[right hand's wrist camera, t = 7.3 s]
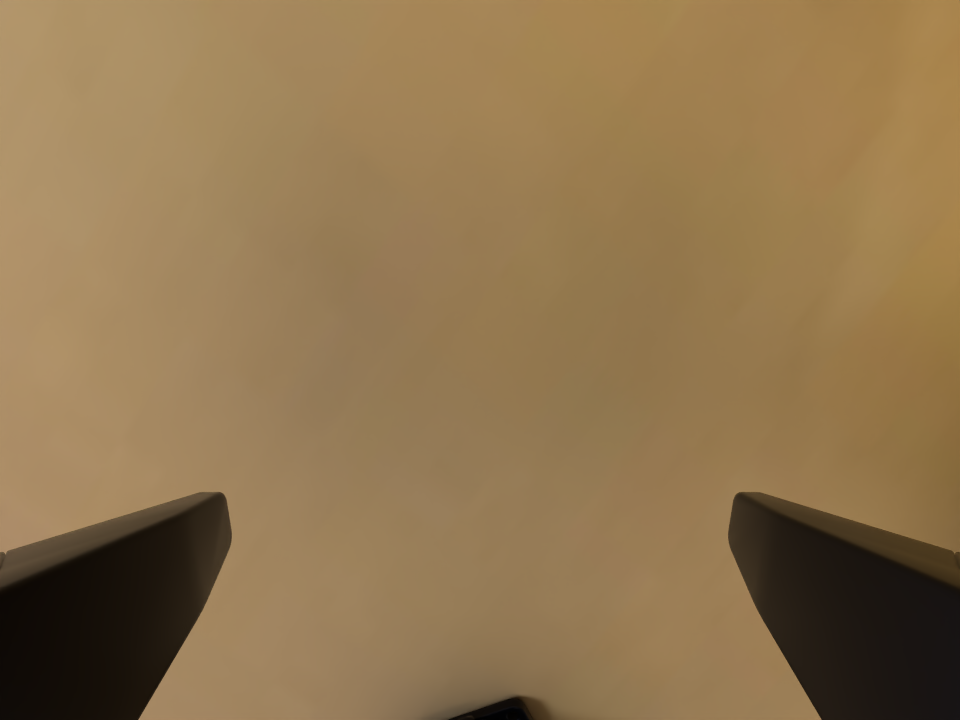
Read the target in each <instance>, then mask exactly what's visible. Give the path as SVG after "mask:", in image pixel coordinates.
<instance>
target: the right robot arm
mask: <svg viewBox="0 0 960 720" xmlns="http://www.w3.org/2000/svg"><path fill="white" fill-rule="evenodd" d="M231 539H232V531H231V525H230V518H229V512H228V506H227V500H226V497H225V495H224V494H223V493H221V492H200V493H196V494H193V495H190V496H187V497H183V498H180V499H177V500H173V501H170V502H167V503H164V504H160V505H157V506H154V507H150V508H147V509H144V510H141V511H137V512H134V513H131V514H127V515H124V516H121V517H118V518H114V519H111V520H108V521H104V522H101V523H98V524H95V525H91V526H88V527H85V528H82V529H78V530H75V531H72V532H68V533H65V534H62V535H59V536H55V537H52V538H49V539H45V540H42V541H39V542H36V543H32V544H29V545H26V546H22V547H19V548H16V549H13V550H9V551H7V553H6V555H5V553H4V552H0V720H138V719H139V718H140V716H141V714H142V712H143V711H144V709H145V707H146V706H147V704H148V702H149V701H150V699H151V697H152V696H153V694H154V692H155V690H156V689H157V687H158V685H159V684H160V682H161V680H162V679H163V677H164V675H165V673H166V672H167V670H168V668H169V667H170V665H171V663H172V662H173V660H174V658H175V657H176V655H177V653H178V651H179V650H180V648H181V646H182V645H183V643H184V641H185V640H186V638H187V636H188V634H189V633H190V631H191V629H192V628H193V626H194V624H195V623H196V621H197V619H198V617H199V615H200V614H201V612H202V610H203V608H204V606H205V604H206V602H207V599H208V597H209V595H210V593H211V590H212V588H213V586H214V583H215V581H216V579H217V576H218V574H219V572H220V569H221V567H222V565H223V562H224V560H225V558H226V555H227V553H228V551H229V548H230V545H231ZM728 539H729V545H730V548H731V551H732V553H733V555H734V558H735V560H736V562H737V565H738V567H739V569H740V572H741V574H742V576H743V579H744V581H745V583H746V586H747V588H748V590H749V593H750V595H751V597H752V600H753V602H754V604H755V606H756V608H757V610H758V612H759V614H760V615H761V617H762V619H763V621H764V623H765V624H766V626H767V628H768V629H769V631H770V633H771V634H772V636H773V638H774V640H775V641H776V643H777V645H778V646H779V648H780V650H781V651H782V653H783V655H784V657H785V658H786V660H787V662H788V663H789V665H790V667H791V668H792V670H793V672H794V673H795V675H796V677H797V679H798V680H799V682H800V684H801V685H802V687H803V689H804V690H805V692H806V694H807V696H808V697H809V699H810V701H811V702H812V704H813V706H814V707H815V709H816V711H817V712H818V714H819V716H820V718H821V719H822V720H960V552H956V553H955V555H954V552H953V551H951V550H947V549H944V548H941V547H938V546H934V545H931V544H928V543H924V542H921V541H918V540H915V539H911V538H908V537H905V536H901V535H898V534H895V533H892V532H888V531H885V530H882V529H878V528H875V527H872V526H869V525H865V524H862V523H859V522H856V521H852V520H849V519H846V518H842V517H839V516H836V515H833V514H829V513H826V512H823V511H819V510H816V509H813V508H810V507H806V506H803V505H800V504H796V503H793V502H790V501H787V500H783V499H780V498H777V497H773V496H770V495H767V494H764V493H760V492H739V493H737V494H736V495H735V497H734V500H733V506H732V512H731V518H730V525H729V531H728ZM512 712H513V713H512ZM449 720H533V718H532V717H531V715H530V713H529V711H528V710H527V708H526V706H525V704H524V703H523V702H522V701H520V700H518V699H508V700H505V701H502V702H499V703H496V704H493V705H490V706H487V707H484V708H481V709H478V710H475V711H472V712H469V713H467V714H464V715H461V716H458V717H455V718H452V719H449Z"/></svg>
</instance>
